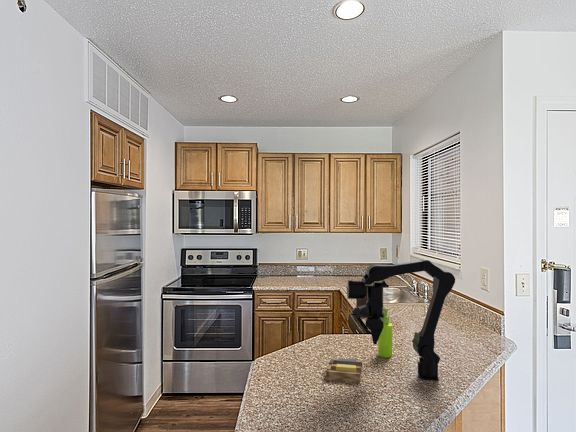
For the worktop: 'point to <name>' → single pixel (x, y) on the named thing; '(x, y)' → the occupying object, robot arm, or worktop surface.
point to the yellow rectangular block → (346, 368)
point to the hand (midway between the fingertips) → (375, 341)
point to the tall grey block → (347, 361)
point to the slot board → (341, 375)
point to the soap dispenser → (385, 337)
